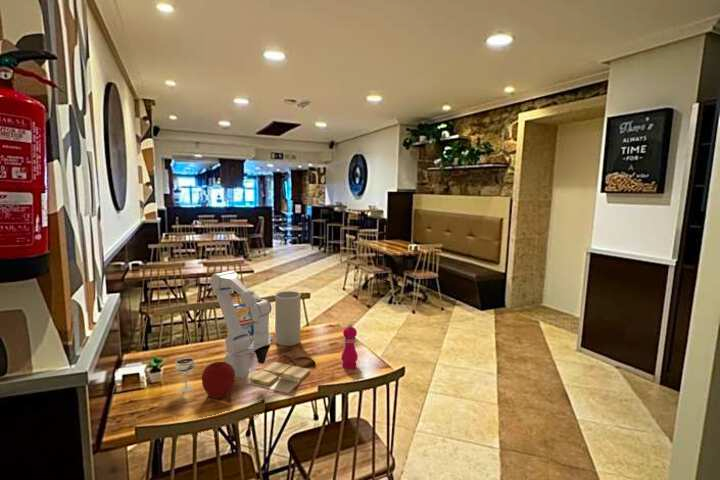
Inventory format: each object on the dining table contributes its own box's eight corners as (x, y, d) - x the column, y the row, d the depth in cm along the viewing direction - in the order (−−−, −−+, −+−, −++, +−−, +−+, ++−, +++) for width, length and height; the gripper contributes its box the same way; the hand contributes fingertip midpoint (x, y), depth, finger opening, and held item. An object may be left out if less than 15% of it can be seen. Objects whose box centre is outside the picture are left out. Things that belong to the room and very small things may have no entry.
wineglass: (190, 382, 154) (189, 354, 152) (198, 388, 149) (197, 359, 148) (173, 389, 148) (172, 360, 147) (181, 395, 144) (180, 365, 142)
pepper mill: (355, 371, 166) (356, 327, 163) (339, 369, 168) (340, 325, 165) (358, 363, 173) (359, 321, 170) (343, 362, 175) (344, 320, 172)
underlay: (245, 383, 154) (245, 383, 154) (272, 363, 171) (272, 362, 171) (288, 393, 147) (288, 392, 147) (310, 371, 165) (310, 371, 165)
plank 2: (271, 374, 152) (272, 371, 152) (280, 377, 158) (281, 374, 159) (291, 378, 149) (292, 375, 149) (299, 381, 155) (300, 378, 156)
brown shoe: (282, 355, 180) (289, 342, 181) (294, 359, 184) (301, 346, 185) (298, 371, 165) (305, 357, 166) (311, 375, 169) (318, 361, 170)
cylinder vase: (270, 341, 195) (270, 294, 191) (289, 335, 204) (289, 289, 201) (286, 349, 187) (286, 299, 183) (305, 341, 196) (305, 294, 193)
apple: (240, 396, 144) (240, 363, 143) (210, 408, 136) (209, 373, 135) (227, 384, 153) (226, 352, 151) (197, 394, 145) (196, 361, 143)
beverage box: (229, 348, 186) (228, 305, 183) (251, 343, 192) (250, 301, 189) (233, 353, 180) (232, 309, 177) (255, 348, 186) (255, 305, 183)
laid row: (262, 372, 162) (262, 369, 162) (273, 364, 170) (273, 361, 170) (300, 381, 156) (300, 378, 156) (310, 371, 164) (310, 369, 164)
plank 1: (249, 380, 154) (249, 378, 154) (261, 373, 162) (261, 370, 162) (268, 385, 151) (268, 382, 151) (279, 377, 159) (279, 374, 158)
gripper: (258, 339, 143) (259, 372, 145) (279, 326, 157) (279, 357, 159) (243, 336, 146) (243, 369, 148) (265, 323, 159) (265, 354, 161)
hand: (261, 362), depth 153 cm, fingers closed
